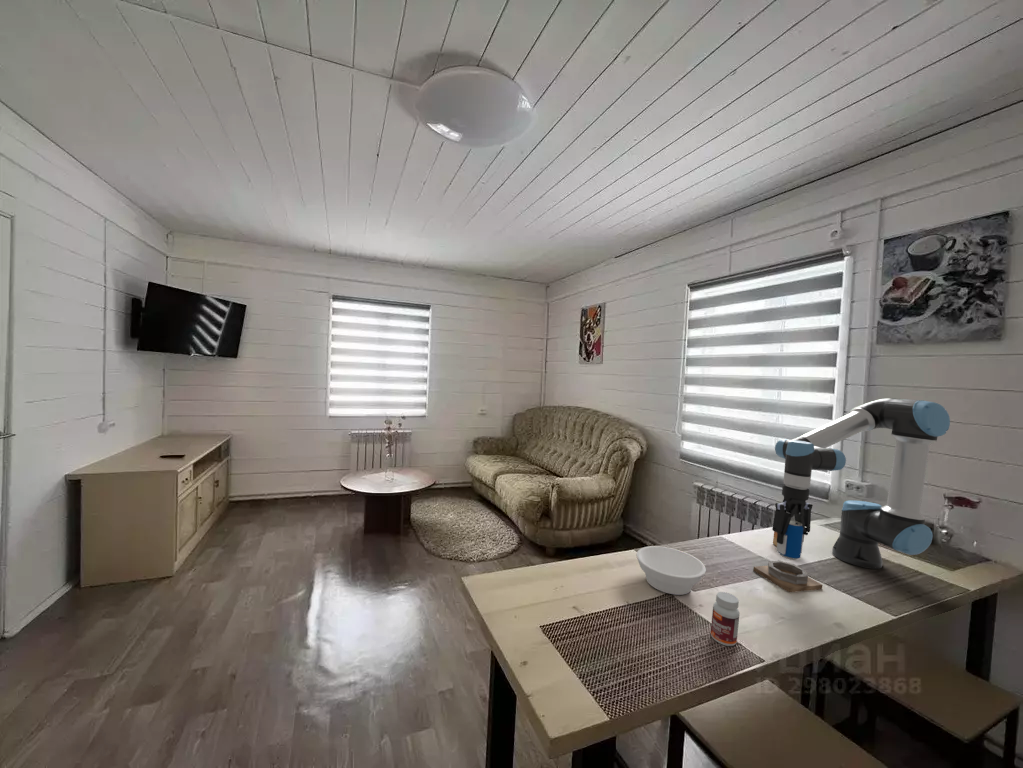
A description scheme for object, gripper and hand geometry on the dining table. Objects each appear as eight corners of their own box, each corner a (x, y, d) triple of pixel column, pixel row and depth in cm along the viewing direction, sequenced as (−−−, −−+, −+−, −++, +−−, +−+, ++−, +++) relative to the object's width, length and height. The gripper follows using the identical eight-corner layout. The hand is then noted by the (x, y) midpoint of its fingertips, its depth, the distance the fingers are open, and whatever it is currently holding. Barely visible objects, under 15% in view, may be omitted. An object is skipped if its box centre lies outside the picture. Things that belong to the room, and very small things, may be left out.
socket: (784, 568, 149) (785, 557, 149) (822, 589, 136) (823, 577, 136) (753, 570, 146) (754, 559, 145) (788, 592, 132) (790, 580, 132)
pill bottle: (707, 638, 106) (711, 596, 106) (713, 628, 111) (717, 587, 110) (733, 650, 102) (738, 607, 102) (739, 639, 107) (743, 597, 106)
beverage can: (803, 562, 136) (807, 527, 136) (782, 558, 138) (786, 524, 137) (794, 553, 143) (798, 520, 142) (774, 550, 144) (777, 517, 143)
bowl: (712, 587, 133) (715, 562, 132) (689, 613, 117) (692, 585, 117) (650, 562, 147) (652, 540, 147) (622, 582, 132) (624, 558, 131)
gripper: (807, 482, 145) (800, 546, 146) (763, 483, 140) (757, 548, 141) (828, 489, 138) (821, 555, 139) (783, 489, 133) (776, 558, 134)
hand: (789, 552), depth 140 cm, fingers closed on beverage can, 6 cm apart
